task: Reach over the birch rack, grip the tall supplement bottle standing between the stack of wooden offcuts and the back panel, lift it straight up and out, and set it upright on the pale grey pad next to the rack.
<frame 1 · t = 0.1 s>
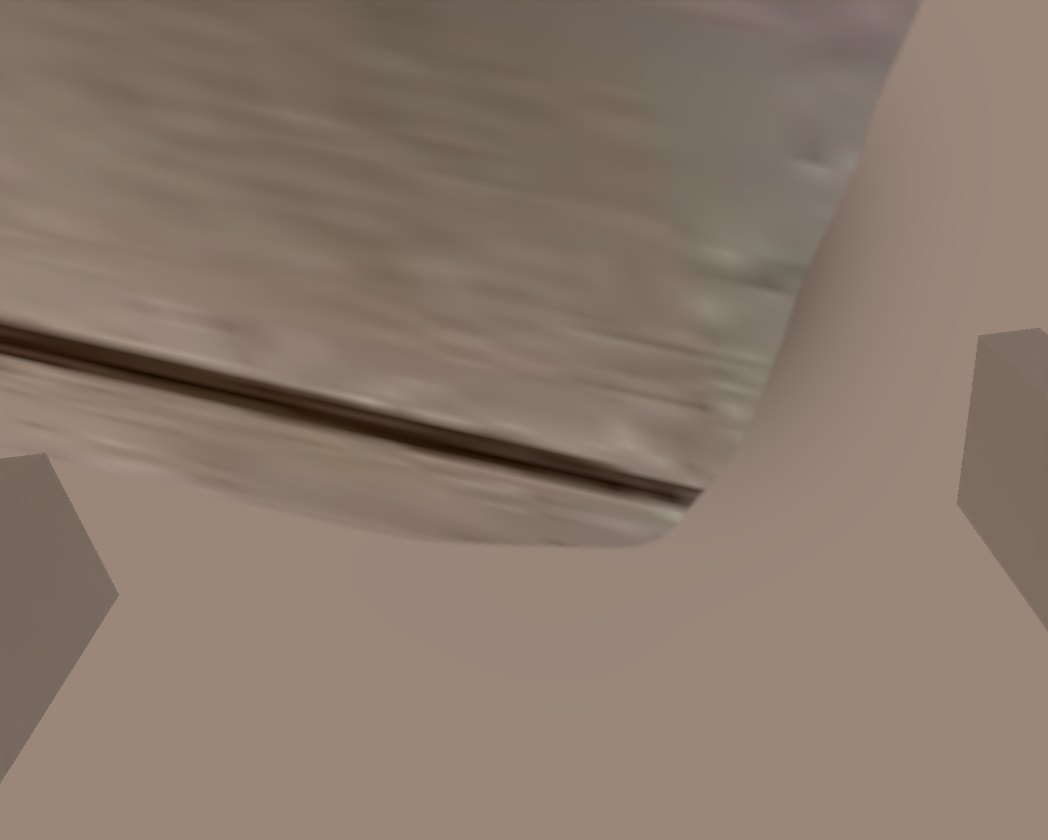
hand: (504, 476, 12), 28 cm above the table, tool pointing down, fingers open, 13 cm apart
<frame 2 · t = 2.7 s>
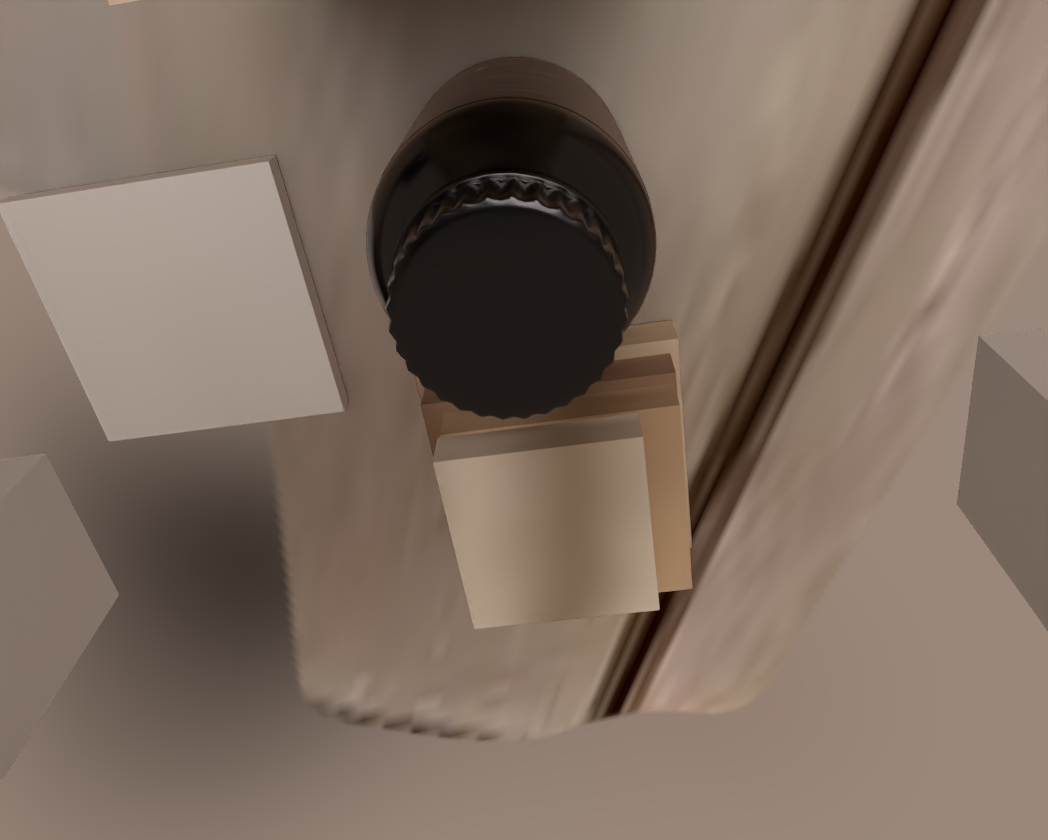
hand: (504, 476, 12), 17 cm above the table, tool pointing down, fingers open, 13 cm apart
offcut rack: (535, 284, 29), on the table
supplement bottle: (517, 165, 27), on the table
grey pad: (189, 305, 29), on the table
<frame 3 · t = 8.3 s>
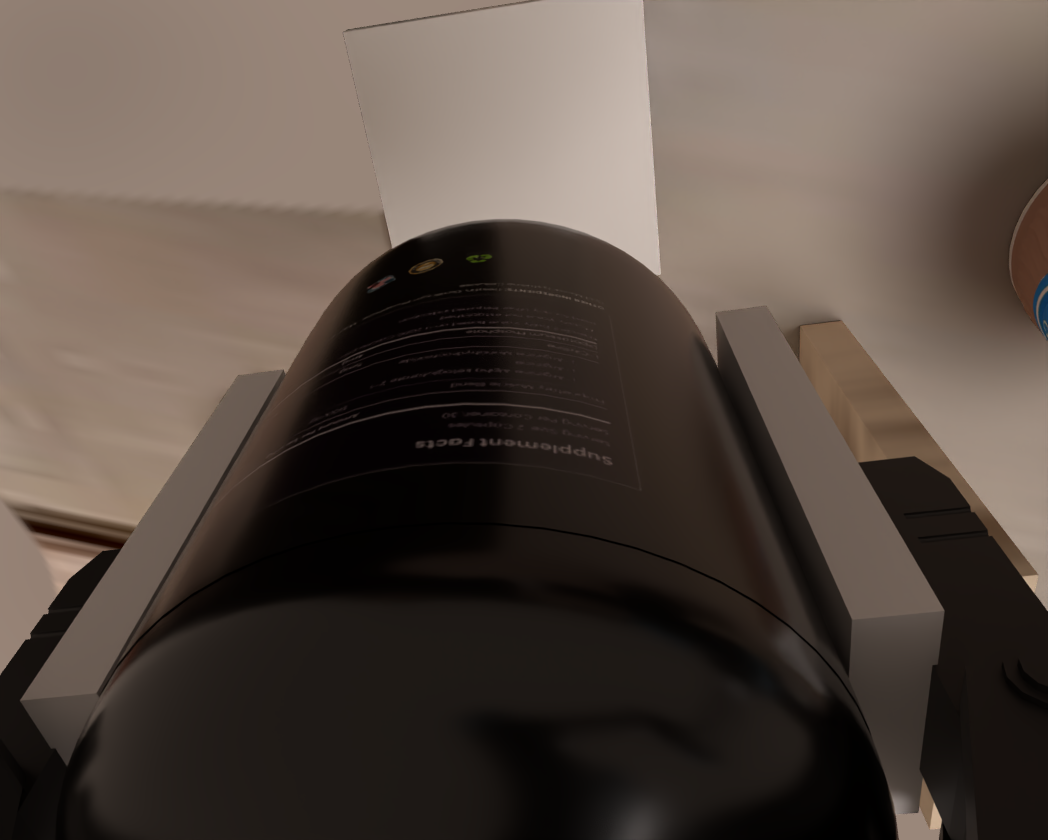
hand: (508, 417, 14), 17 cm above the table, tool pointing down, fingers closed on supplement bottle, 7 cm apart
offcut rack: (533, 460, 34), on the table
supplement bottle: (510, 397, 14), point 16 cm above the table, touching gripper
grey pad: (513, 155, 28), on the table
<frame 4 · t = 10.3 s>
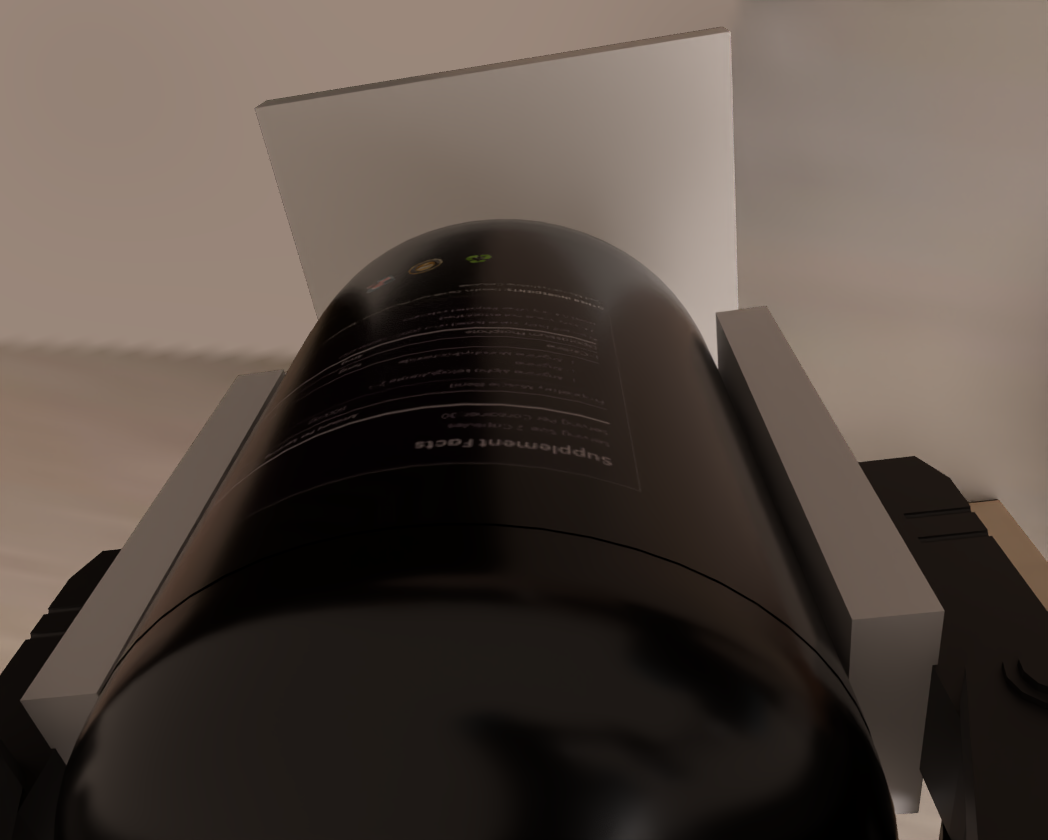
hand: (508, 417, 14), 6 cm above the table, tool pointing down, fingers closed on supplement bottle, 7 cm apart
offcut rack: (552, 668, 25), on the table
supplement bottle: (510, 397, 14), point 5 cm above the table, touching gripper
grey pad: (523, 281, 19), on the table
when the fingers open (3 cm above the table, at t = 11.8 s): supplement bottle drops 1 cm, resting on grey pad.
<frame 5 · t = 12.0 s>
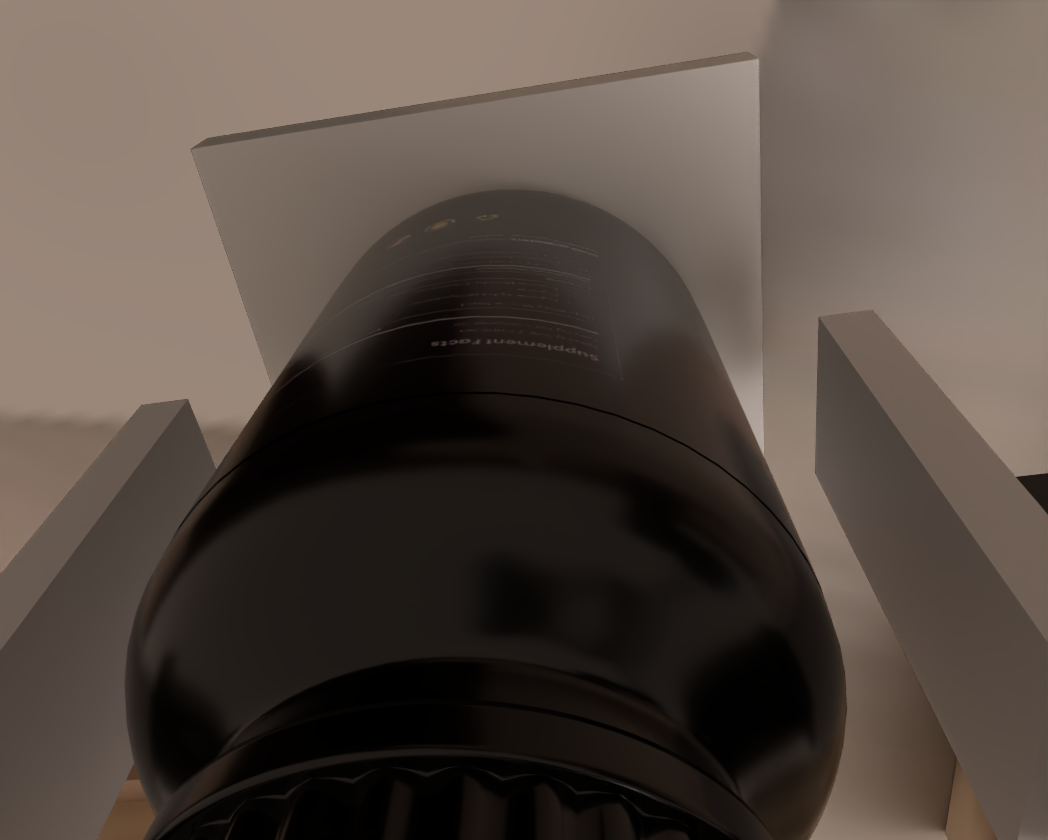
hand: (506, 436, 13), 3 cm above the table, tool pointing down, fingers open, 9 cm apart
offcut rack: (547, 759, 22), on the table
supplement bottle: (517, 360, 15), point 1 cm above the table, touching grey pad
grey pad: (513, 343, 16), on the table
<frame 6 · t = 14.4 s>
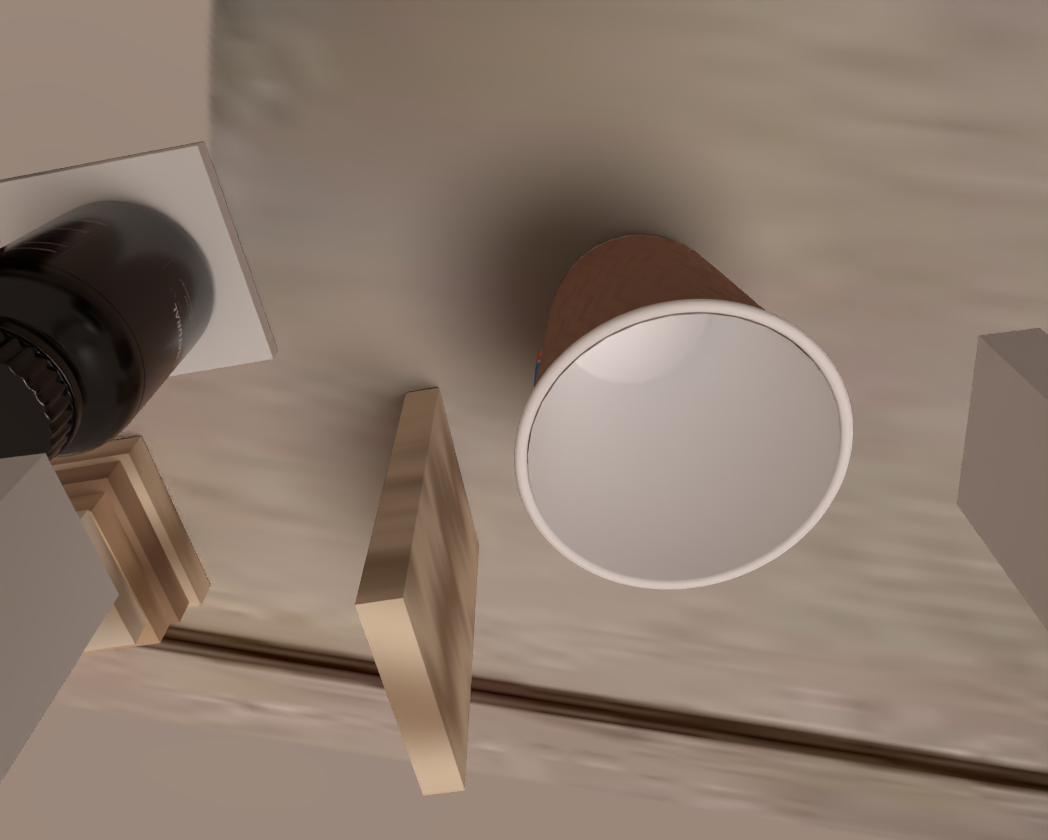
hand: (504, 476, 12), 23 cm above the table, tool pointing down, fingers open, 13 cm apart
offcut rack: (217, 508, 41), on the table
supplement bottle: (135, 276, 34), point 1 cm above the table, touching grey pad
coffee cup: (633, 310, 36), on the table
grey pad: (139, 271, 35), on the table
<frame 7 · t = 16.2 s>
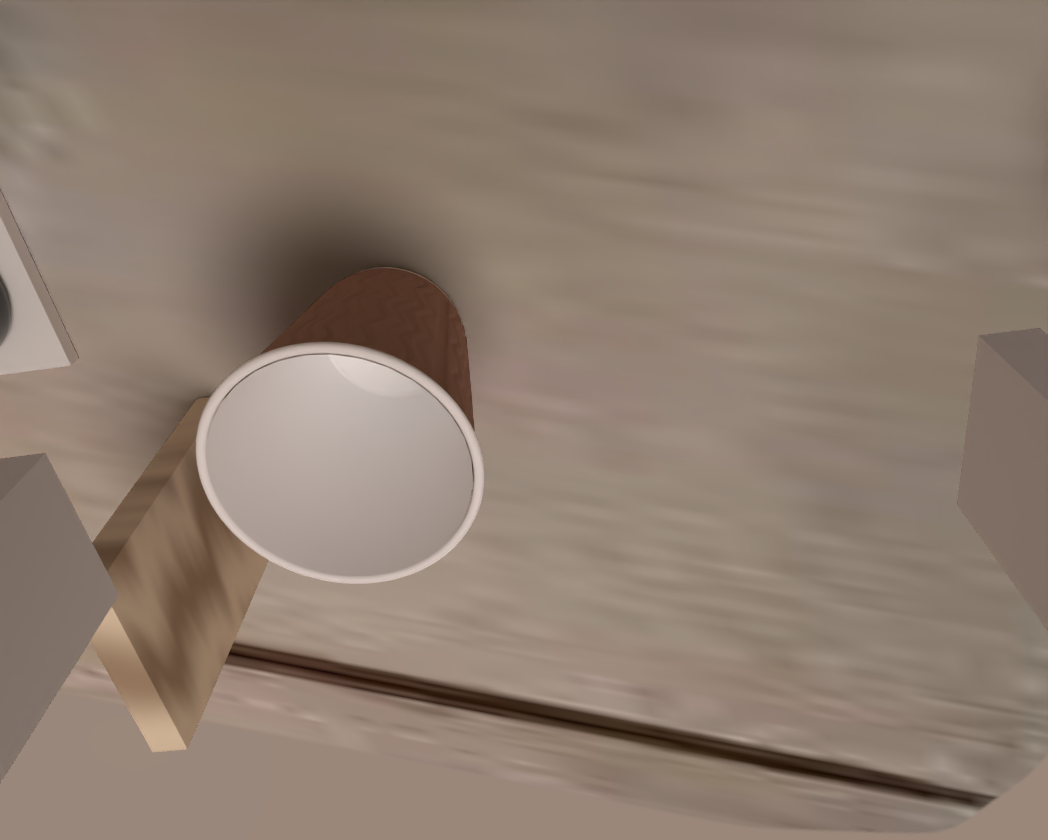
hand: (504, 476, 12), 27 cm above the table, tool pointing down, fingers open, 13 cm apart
offcut rack: (40, 494, 46), on the table
coffee cup: (392, 332, 41), on the table
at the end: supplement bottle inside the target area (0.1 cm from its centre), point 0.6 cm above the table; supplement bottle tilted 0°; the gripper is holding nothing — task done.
